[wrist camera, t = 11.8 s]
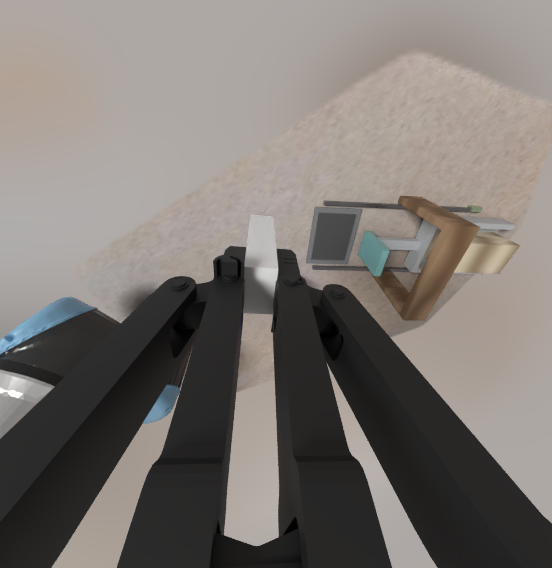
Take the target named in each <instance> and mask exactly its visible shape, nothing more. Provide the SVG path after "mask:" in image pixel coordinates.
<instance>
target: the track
mask: <svg viewBox="0 0 552 568" xmlns="http://www.w3.org/2000/svg"><path fill="white" fill-rule="evenodd" d="M324 205H333V206H354V207H376V208H397V209H407V208H406V207H404V206H403V205H401V204H384V203H363V202H342V201H324ZM440 207H442V208H444V209H446V210H448V211H461V212H468V211H470V212H481V210H482V207H479V206H470V205H468V207H446V206H440ZM312 269H316V270H355V271H370V270H369V269H368V268H367V267H355V266H317V265H313V266H312ZM382 271H395V272H410V271H409V270H408V269H407V268H392V267H384V268H383V270H382Z"/></svg>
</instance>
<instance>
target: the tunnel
mask: <svg viewBox="0 0 552 568" xmlns="http://www.w3.org/2000/svg"><path fill="white" fill-rule="evenodd" d="M398 203H399V204H401V205H403V206H404V207H406V208H407V209H409V210H411V211H412V212H414V213H415V214H417V215H418V216H420V217H422V218H423V219H425V220H426V221H428V222H430V223H431V224H433V225H434V226H436V227H437V228H439V229H441V232H440V234H439V236H438V238H437V240H436V242H435V244H434V246H433V248H432V250H431V252H430V254H429V256H428V258H427V260H426V262H425V264H424V266H423V268H422V270H421V272H420V274H419V276H418V278H417V280H416V282H415V284H414V286H413V288H412V290H411V292H410V293H409V292H408V291H407V290H406V289H405V287H404V286H403V285H402V284H401V283H400V281H399V280H398V279H397V278H396V277H395V276H394V274H393V273H392V272H391V271H382V273H381V275H380V276H373V275H372V276H373V277H374V279H375V280H376V282H377V283H378V284H379V286H380V287H381V289H382V290H383V292H384V293H385V294H386V296H387V297H388V299H389V300H390V302H391V303H392V305H393V306H394V307H395V309H396V310H397V312H398V313H399V315H400V316H401V317H402V319H403V320H425V319H426V318H427V316H428V314H429V313H430V311H431V309H432V308H433V306H434V304H435V303H436V301H437V299H438V298H439V296H440V294H441V293H442V291H443V289H444V288H445V286H446V284H447V283H448V281H449V279H450V278H451V276H452V274H453V273H454V271H455V269H456V268H457V266H458V264H459V263H460V261H461V259H462V258H463V256H464V254H465V253H466V251H467V249H468V248H469V246H470V244H471V242H472V241H473V239H474V237H475V236H476V234H477V232H478V231H479V229H480V227H479V226H477V225H475V224H473V223H472V222H470V221H468V220H466V219H464V218H462V217H460V216H458V215H456V214H454V213H452V212H450V211H448V210H446V209H444V208H442V207H440V206H438V205H436V204H434V203H432V202H430V201H428V200H426V199H424V198H422V197H412V196H400V198H399V201H398Z"/></svg>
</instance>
